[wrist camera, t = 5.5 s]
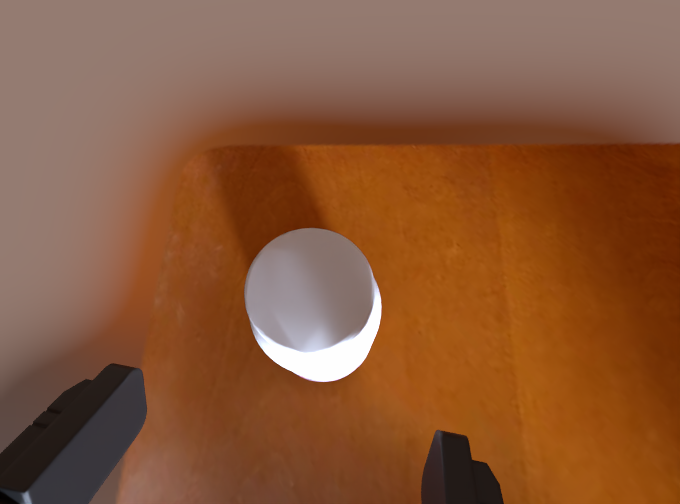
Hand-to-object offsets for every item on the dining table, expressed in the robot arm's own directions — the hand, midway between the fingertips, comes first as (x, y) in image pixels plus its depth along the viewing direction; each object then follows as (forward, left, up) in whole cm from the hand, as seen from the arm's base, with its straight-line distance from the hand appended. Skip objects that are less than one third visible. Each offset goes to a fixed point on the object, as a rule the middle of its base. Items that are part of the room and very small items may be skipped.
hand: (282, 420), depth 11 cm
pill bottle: (+2, +3, -9) cm, 10 cm away
